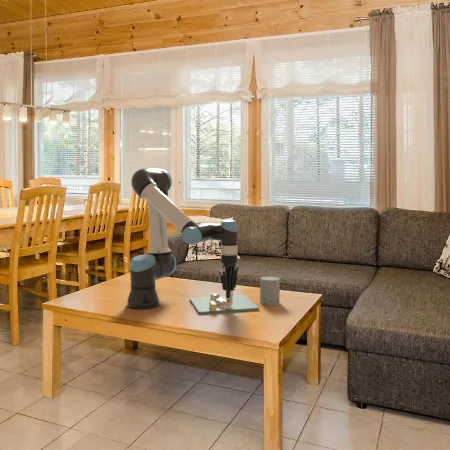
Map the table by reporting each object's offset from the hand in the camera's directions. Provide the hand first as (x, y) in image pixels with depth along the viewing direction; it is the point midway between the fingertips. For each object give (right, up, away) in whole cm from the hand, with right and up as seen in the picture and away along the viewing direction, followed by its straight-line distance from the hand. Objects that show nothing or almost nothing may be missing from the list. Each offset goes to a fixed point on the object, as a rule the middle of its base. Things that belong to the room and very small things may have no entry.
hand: (229, 304), depth 227 cm
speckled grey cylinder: (+20, -1, +11) cm, 23 cm away
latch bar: (-4, -1, +2) cm, 5 cm away
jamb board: (-3, -2, +7) cm, 8 cm away
